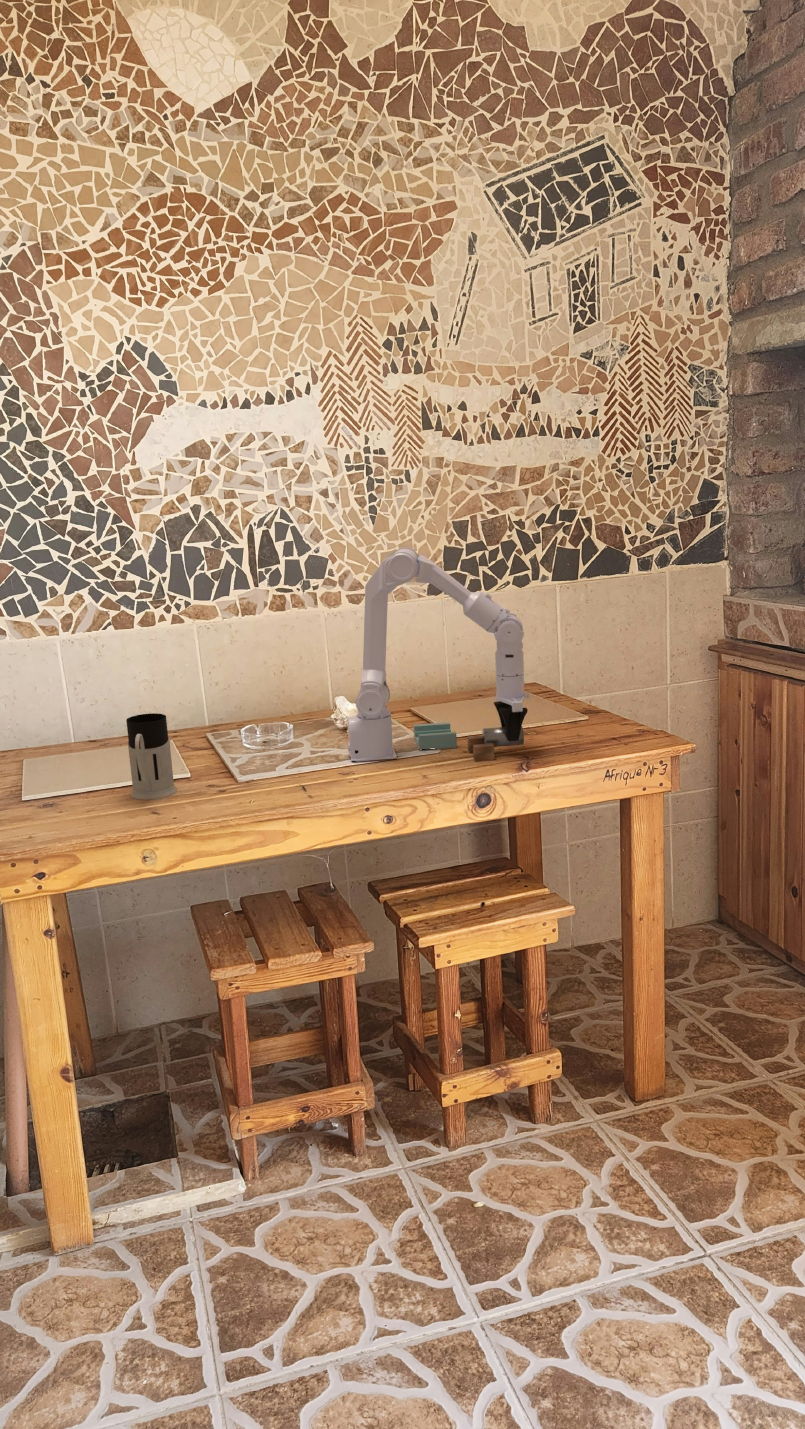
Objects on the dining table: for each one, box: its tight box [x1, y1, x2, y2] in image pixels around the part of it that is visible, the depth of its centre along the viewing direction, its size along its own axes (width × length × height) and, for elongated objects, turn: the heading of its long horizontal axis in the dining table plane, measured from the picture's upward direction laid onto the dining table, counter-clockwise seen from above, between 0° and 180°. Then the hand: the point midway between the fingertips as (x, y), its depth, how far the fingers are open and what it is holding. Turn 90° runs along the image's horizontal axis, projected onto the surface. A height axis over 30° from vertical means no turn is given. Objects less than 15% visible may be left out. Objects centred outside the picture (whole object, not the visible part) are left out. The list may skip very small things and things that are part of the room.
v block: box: [413, 721, 458, 750], centre depth 236 cm, size 8×10×3 cm
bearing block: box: [467, 735, 495, 762], centre depth 226 cm, size 4×9×3 cm, turn 6°
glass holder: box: [126, 712, 178, 801], centre depth 207 cm, size 9×14×15 cm, turn 1°
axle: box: [481, 725, 525, 748], centre depth 225 cm, size 8×4×4 cm, turn 96°
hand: (511, 737), depth 226 cm, fingers closed on axle, 4 cm apart
